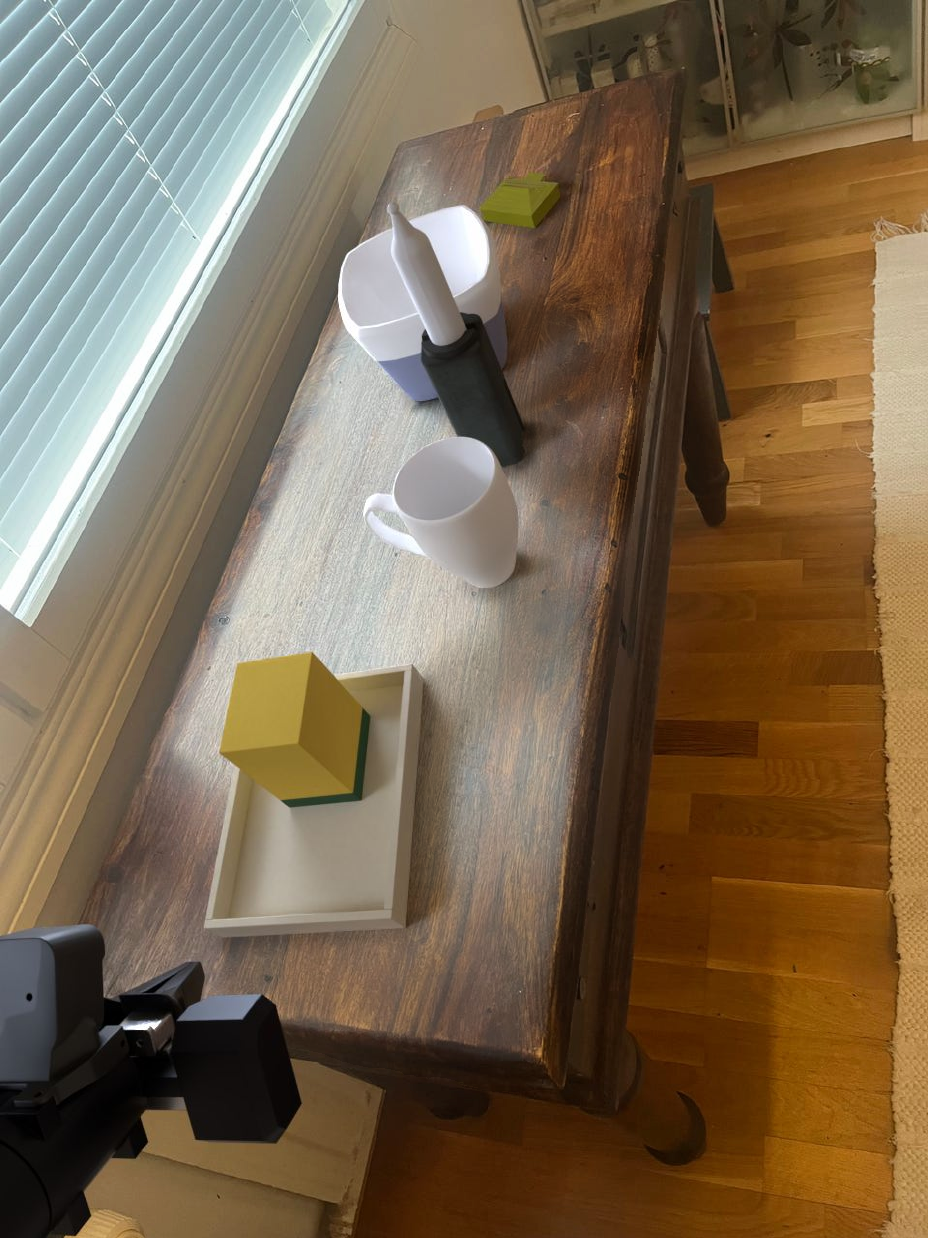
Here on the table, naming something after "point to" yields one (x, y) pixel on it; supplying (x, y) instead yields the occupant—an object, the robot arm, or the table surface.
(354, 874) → the tray
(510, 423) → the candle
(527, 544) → the table surface
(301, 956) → the table surface
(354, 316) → the bowl
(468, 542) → the mug
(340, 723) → the block
